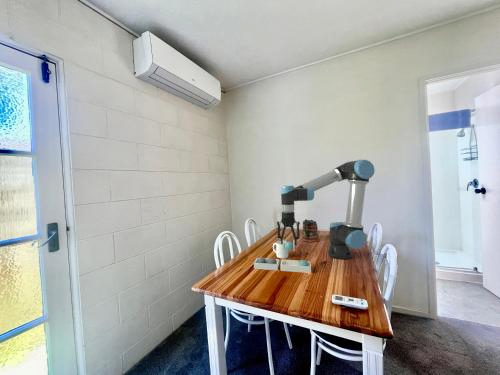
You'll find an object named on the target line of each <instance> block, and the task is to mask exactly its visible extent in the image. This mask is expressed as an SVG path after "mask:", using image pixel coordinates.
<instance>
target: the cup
mask: <svg viewBox="0 0 500 375" xmlns="http://www.w3.org/2000/svg"><path fill="white" fill-rule="evenodd" d="M285 242H287V241H286V240H284V244H285ZM272 250H273V253H275V254H276V258H277V259H278V258H279V259H287V258H289V251H288V250H286V249H285V250H284V251H283V245H282V244H281V240H278V241H276V242H274V243H273V244H272Z"/></svg>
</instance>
